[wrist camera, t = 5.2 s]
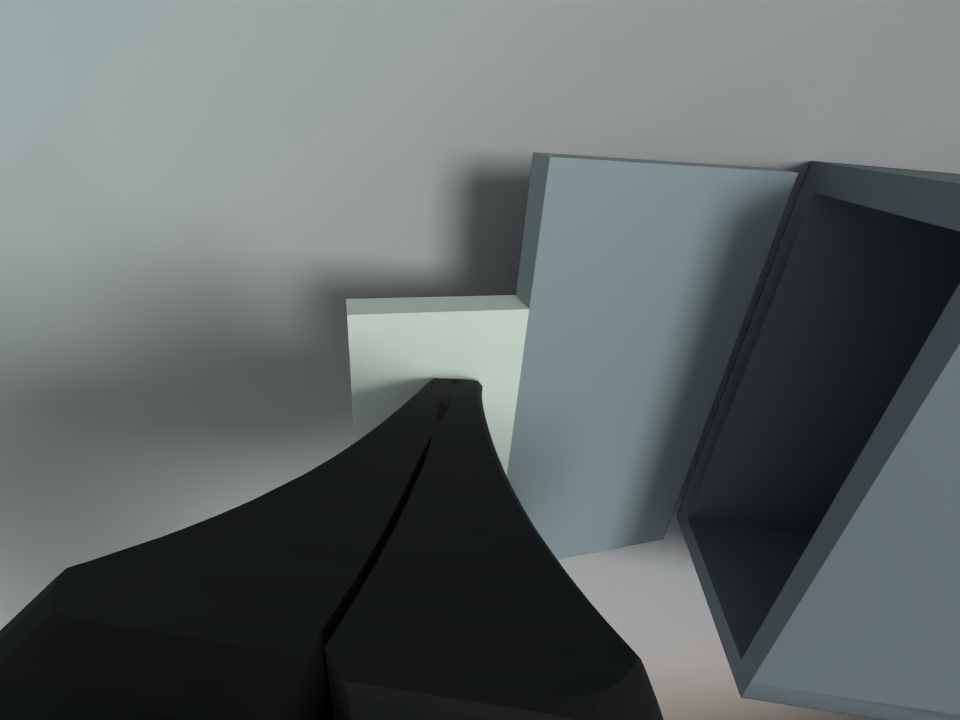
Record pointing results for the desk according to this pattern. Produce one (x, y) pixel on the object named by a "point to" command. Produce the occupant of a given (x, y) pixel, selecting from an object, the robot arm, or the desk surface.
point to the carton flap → (591, 338)
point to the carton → (843, 457)
